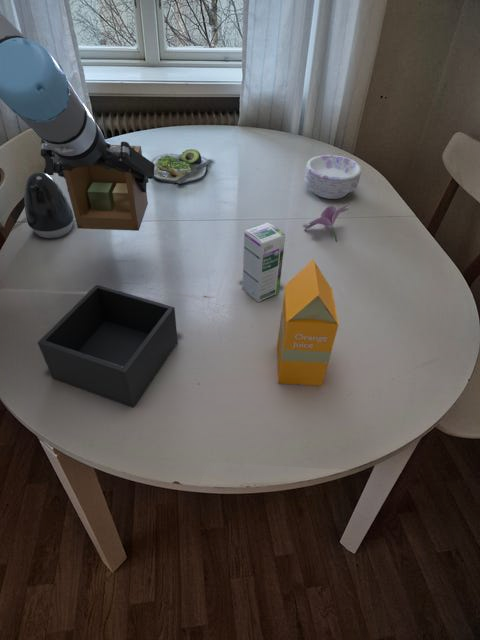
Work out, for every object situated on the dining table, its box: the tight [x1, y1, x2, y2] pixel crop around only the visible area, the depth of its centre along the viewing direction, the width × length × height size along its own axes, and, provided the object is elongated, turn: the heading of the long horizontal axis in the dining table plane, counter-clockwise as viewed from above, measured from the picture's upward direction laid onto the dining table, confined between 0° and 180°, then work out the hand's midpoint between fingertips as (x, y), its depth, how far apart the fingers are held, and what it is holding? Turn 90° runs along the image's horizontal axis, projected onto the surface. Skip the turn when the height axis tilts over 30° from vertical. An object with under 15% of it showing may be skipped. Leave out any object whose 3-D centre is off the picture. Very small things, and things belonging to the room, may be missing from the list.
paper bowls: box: [304, 154, 362, 200], centre depth 122 cm, size 15×15×8 cm
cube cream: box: [112, 183, 131, 212], centre depth 85 cm, size 4×4×4 cm
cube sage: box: [87, 182, 114, 211], centre depth 85 cm, size 4×4×4 cm
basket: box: [37, 283, 179, 408], centre depth 73 cm, size 16×16×9 cm
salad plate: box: [153, 149, 213, 185], centre depth 129 cm, size 19×18×5 cm
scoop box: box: [62, 144, 149, 232], centre depth 81 cm, size 12×11×12 cm
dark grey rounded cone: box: [23, 171, 75, 239], centre depth 99 cm, size 10×10×15 cm
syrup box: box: [241, 221, 286, 303], centre depth 86 cm, size 6×6×14 cm
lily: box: [304, 203, 351, 243], centre depth 106 cm, size 12×12×10 cm
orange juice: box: [276, 258, 340, 387], centre depth 69 cm, size 8×9×20 cm
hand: (112, 184), depth 84 cm, fingers closed on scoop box, 12 cm apart
